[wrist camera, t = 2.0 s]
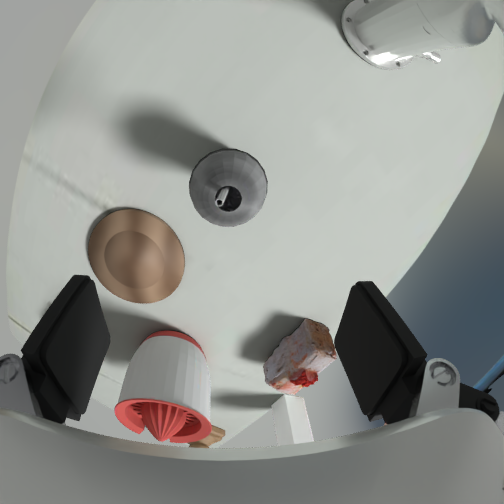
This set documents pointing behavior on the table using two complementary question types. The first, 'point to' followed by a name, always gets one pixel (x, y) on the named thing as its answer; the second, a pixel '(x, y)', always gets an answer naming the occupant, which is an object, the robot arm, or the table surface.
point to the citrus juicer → (167, 389)
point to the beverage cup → (228, 187)
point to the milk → (291, 421)
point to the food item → (300, 358)
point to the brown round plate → (136, 256)
